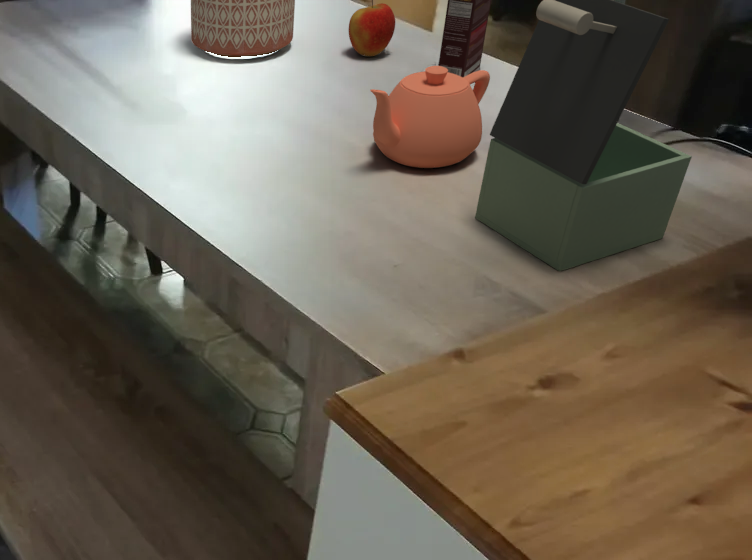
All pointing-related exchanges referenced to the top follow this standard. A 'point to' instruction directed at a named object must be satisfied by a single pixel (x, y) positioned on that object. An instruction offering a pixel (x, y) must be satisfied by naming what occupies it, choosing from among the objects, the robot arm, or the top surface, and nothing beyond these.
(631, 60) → the lid
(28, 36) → the top surface
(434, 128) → the teapot
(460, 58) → the supplement box
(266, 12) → the planter
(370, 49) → the apple
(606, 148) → the green open box
